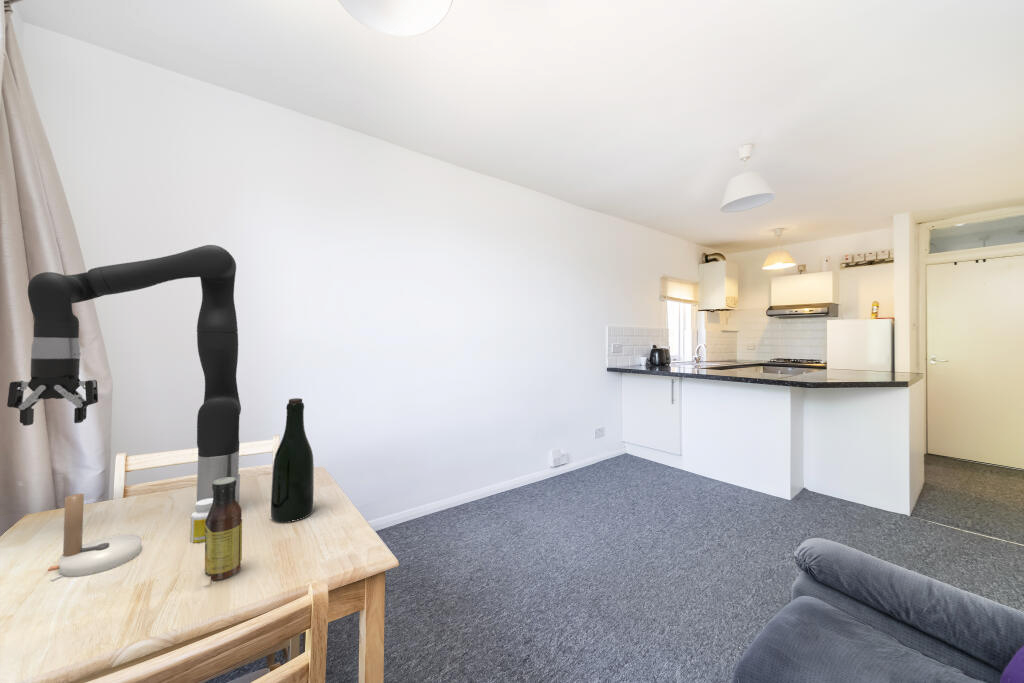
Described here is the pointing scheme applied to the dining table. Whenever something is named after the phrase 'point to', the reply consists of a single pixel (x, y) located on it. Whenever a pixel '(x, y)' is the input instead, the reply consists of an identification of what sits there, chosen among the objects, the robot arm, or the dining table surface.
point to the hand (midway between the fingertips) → (54, 423)
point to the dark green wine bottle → (293, 469)
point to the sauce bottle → (223, 531)
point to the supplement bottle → (199, 520)
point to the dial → (91, 545)
